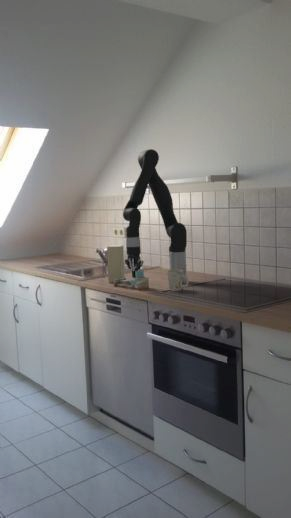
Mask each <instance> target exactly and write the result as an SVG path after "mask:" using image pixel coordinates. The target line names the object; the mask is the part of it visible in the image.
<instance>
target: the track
mask: <svg viewBox="0 0 291 518" xmlns="http://www.w3.org/2000/svg"><path fill="white" fill-rule="evenodd" d="M134 279H135V286H131V280H129V279H128V280H127V279H126V277H125V278H121V279H115V280H113V281H114V283H113V287H116V288H120V289H121V288H123V289H126V290H127V289H129V290H135V291H141V290H144V289H149V288H150V284H149V283H150V282H149V276H145V275H144V277H140V278H134Z"/></svg>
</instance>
